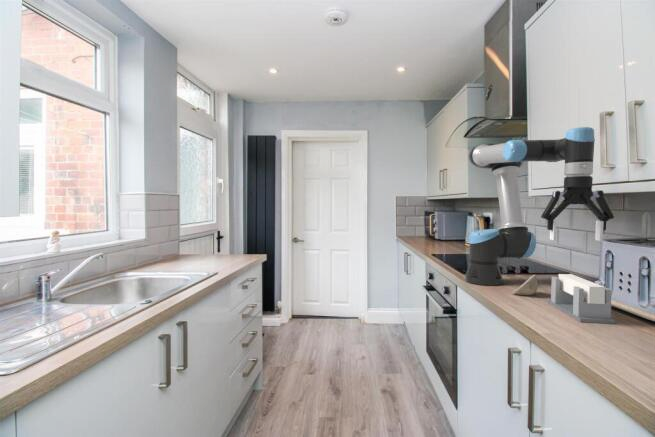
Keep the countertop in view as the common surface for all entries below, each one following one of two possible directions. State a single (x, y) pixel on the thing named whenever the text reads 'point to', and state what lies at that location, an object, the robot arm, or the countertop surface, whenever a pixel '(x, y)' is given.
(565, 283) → the rail
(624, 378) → the countertop surface
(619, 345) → the countertop surface
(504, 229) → the robot arm
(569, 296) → the bracket stand
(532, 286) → the stone
